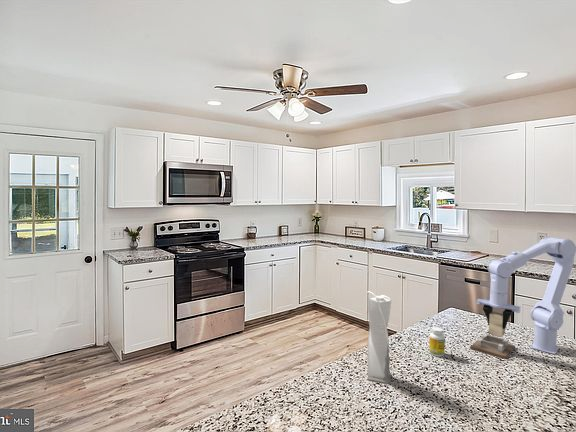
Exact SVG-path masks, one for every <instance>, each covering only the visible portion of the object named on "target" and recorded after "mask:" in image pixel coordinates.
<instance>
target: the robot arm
mask: <svg viewBox="0 0 576 432" xmlns="http://www.w3.org/2000/svg"><path fill="white" fill-rule="evenodd" d="M543 254H547V255H548V256H549V257H550V258H551V259H552V261H554V266H553V269H552V272H551V275H550V276H549V280H548V283H547V286H546V289H545V292H544V295H543V296H542V297H543V298H542V300H539V301H537V302H535V305H534V307H532V309H531V310H530V318H531V320H532V321H533V324H534V329H533V330H534V333H533V343H532V344H531V346H530V349H533V350H536V351H542V352H544V353H545V352H546V353H549V354H552V355H556V354H557V352H558V350H559V348H560V346H559V345H557V340H558V339H557V337H558V330H560V328H562V326H563V324H564V314H565V311H564V310H563V309H562V307H561V306H560V304H561V302H562V299H563V296H564V293H565V290H566V286H567V284H568V281H569V278H570V275H571V273H572V269H573V266H574V262H575V256H576V244H575V242H574V241H573V240H571V239H569V238H568V239H567V238H566V239H565V238H557V237H551V236H546V237H544V238H542V239H540V240H539V242H537V243H535V244H534V245H532V246H530V247H529V248H527V249H525V250H523V251H522V252H520V251H512V252H511V253H510V254H509V255H507V256H505V257H501V258H500V260H497V259H495V260H492V261H491V262H490V263H489V265H488V266H487V271H488V272H489V275H490V276H489V277H490V288H489V289H490V290H489V299H482V298H478V299H476V305H479V306H480V305H481V306H482V310H483V312H484V314H485V316H486V319H487V321H486V322H487V325H488V326H489V317H490V313H491V312H492V311H493V308H495V309H499V310H503V311H502V313H503V329H505V330H506V329H507V325H508V322H509V319H510V318H511V317H512V315H513V313H517V314H520V313H521V306H518V305H513V304H512V303H511V304H510V303H508V288H509V287H508V286H509V278H510V277H511V276H512V274H513V272H514V271H516V270H518V269H520V268H522V267H525V266H526V265H527V264H528V261H530V260H533V259H534V258H536V257H539V256H541V255H543Z"/></svg>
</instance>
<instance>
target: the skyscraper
mask: <svg viewBox="0 0 576 432" xmlns="http://www.w3.org/2000/svg"><path fill="white" fill-rule="evenodd" d="M366 294H367V301H368V302H367V305H368V308H367V309H368V324H369V331H368V339H367V340H368V341H367V377H366V378H367V379H366V380H367V381H370V382H375V383H381V384H386V385H390V384H391V378H392V372H391V369H390V361H391V356H390V345H389V344H390V343H389V342H390V341H389V333H388V326H389V320H390V315H391V308H392V305H391V304H392V299H391V298H390V297H389V296H387V295H384V294H381V295H376V294H375V293H374V292H372V291H370V290H368V291H367V292H366ZM369 294H372V295H373V296H374V297H370V295H369Z"/></svg>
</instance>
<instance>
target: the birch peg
mask: <svg viewBox="0 0 576 432" xmlns="http://www.w3.org/2000/svg"><path fill="white" fill-rule="evenodd" d="M505 330H506V328H505V329H503V312H499V311H493V310H492V312H491V313H490V317H489V325H488V335H491V336H495V337H499V338H502V337H503V336H504V335H505V333H506V331H505Z"/></svg>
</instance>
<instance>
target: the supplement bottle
mask: <svg viewBox="0 0 576 432" xmlns="http://www.w3.org/2000/svg"><path fill="white" fill-rule="evenodd" d="M445 345H446V336H445V335H444V329H443V328H442V327H437V326H434V327H432V328H431V333H430V334H429V345H428V346H429V348H428V352H429V354H430V355H432V356H434V357H439V358H440V357H443V356H444V355H445Z"/></svg>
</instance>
